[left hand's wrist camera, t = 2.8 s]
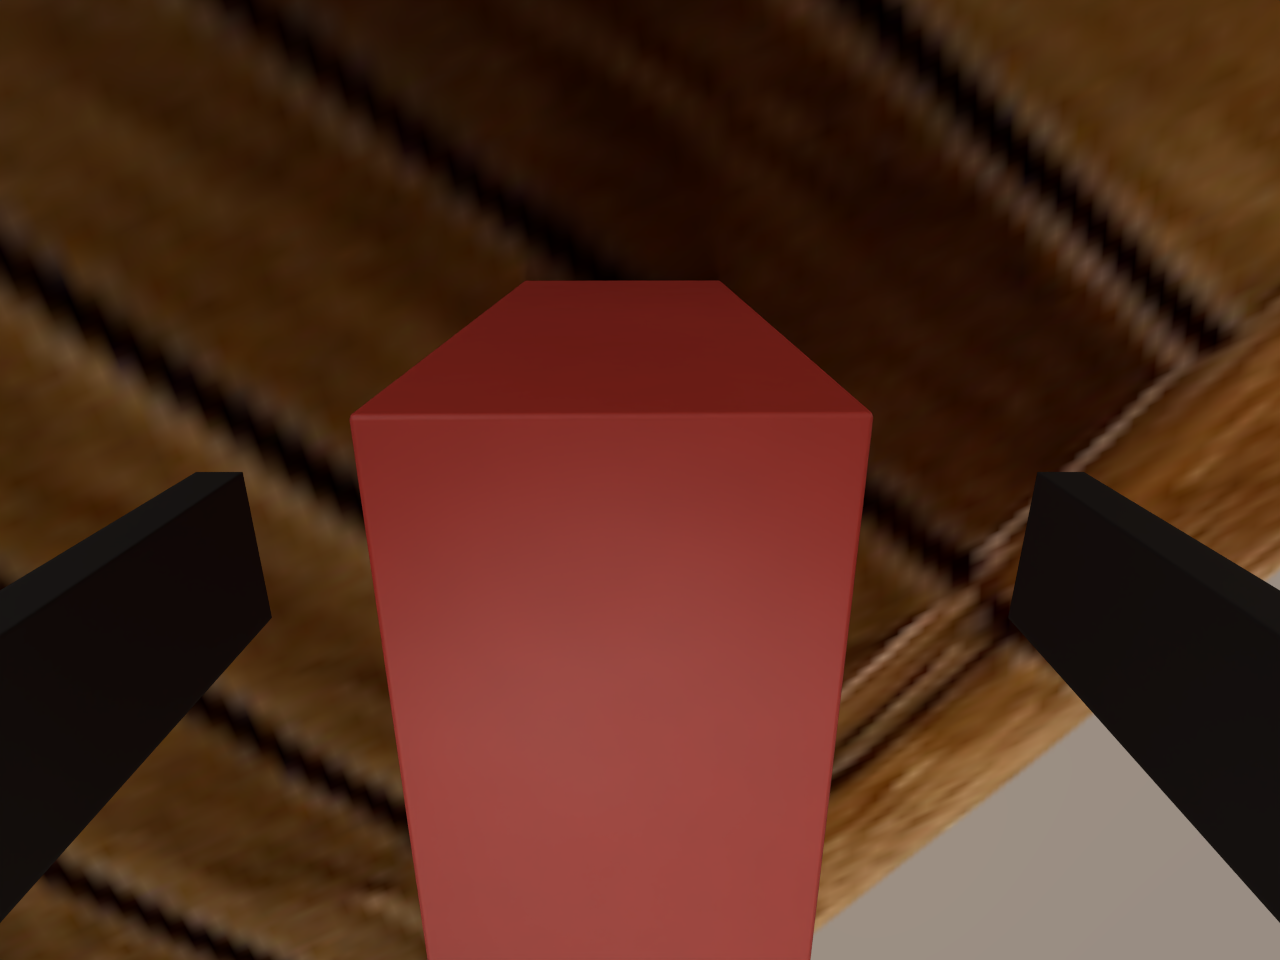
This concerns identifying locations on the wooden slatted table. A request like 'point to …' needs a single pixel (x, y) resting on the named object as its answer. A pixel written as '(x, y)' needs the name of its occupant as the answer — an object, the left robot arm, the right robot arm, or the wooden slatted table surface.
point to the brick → (615, 621)
